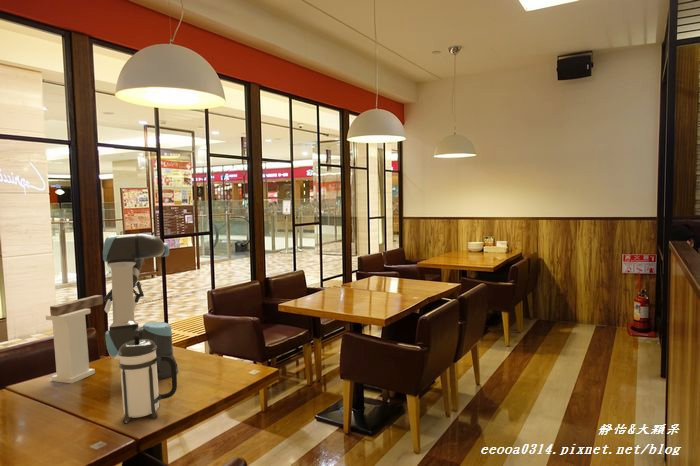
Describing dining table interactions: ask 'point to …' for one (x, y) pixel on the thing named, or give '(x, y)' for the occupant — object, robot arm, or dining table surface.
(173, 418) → the dining table surface
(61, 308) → the walnut bar
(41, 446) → the dining table surface
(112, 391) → the dining table surface
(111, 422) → the dining table surface
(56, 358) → the white pedestal
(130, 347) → the coffee press
